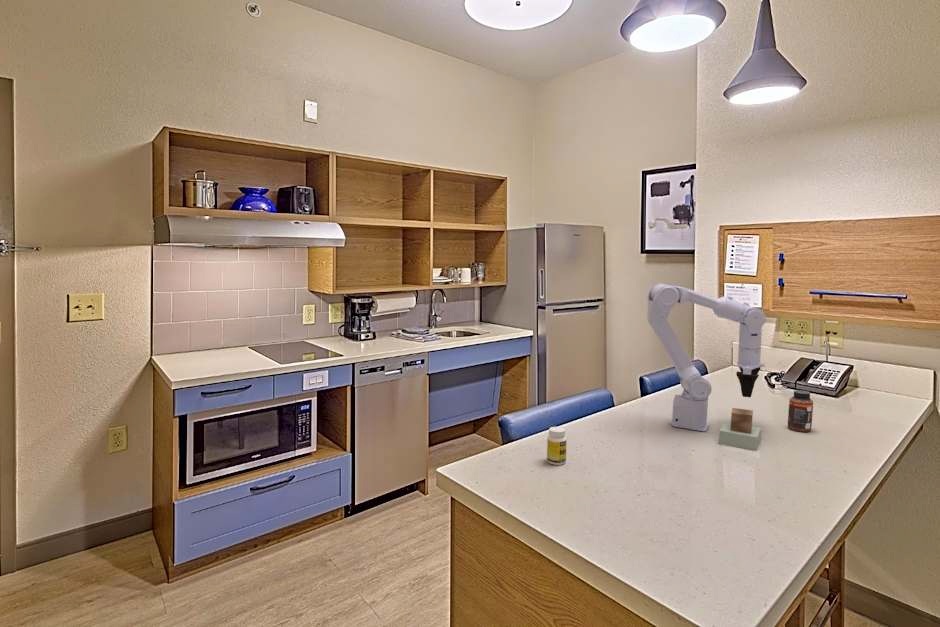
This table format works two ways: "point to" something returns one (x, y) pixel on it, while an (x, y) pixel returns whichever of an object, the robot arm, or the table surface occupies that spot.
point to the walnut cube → (741, 420)
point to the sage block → (739, 437)
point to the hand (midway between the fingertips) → (747, 393)
